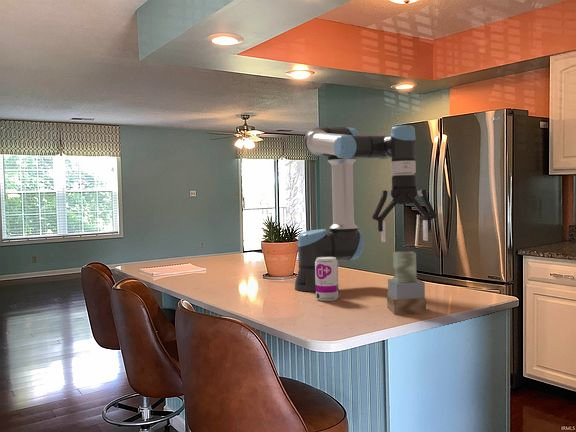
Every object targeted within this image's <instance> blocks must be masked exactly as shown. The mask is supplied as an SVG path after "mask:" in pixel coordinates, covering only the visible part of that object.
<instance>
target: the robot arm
mask: <svg viewBox="0 0 576 432" xmlns="http://www.w3.org/2000/svg"><path fill="white" fill-rule="evenodd" d="M416 138H417V137H416V129H415V127H414V126H413V125H406V124H405V125H395V126H392V127H391V130H390V134H389V135H361V134H360V133H359V132H358V130H357V129H356V128H354V127H347V126H344V127H343V126H340V127H339V126H319V127H313V128H312V129H310V130H308V131H307V132H306V133H305V135H304V138H303V146H304V148H305V150H306V152H307V153H309V154H311V155H313V156H316V157H327V162H328V163H329V164H330V165H331V187H332V188H331V195H332V224H331V225H330V227H329V232H328V230H327V229H324V228H320V229H311V230H307V231H303V232H301V233H299V234H298V237H297V250H298V251H297V256H298V257H297V258H298V259H297V260H298V270H297V273H296V274H297V275H296V278H295V281H294V289H295V290H297V291H301V292H316V282H315V261H316V259H317V258H318V257H336V260H337V261H339V262H340V261H350V260H357V259H358V258H359V257H361V255H362V253H363V250H364V245H365V241H364V235H363V233H362V232H361V231H360V230H359V227H358V226H357V225H356V223H355V210H354V209H355V206H354V204H355V203H354V167H353V166H354V163H355V162H356V161H357V159H381V160H388V159H391V174H392V176H391V190H386V189H384V190H382V191H381V197H380V200H379V202H378V204H377V205H376V208H375V210H374V212H373V214H372V215H371V219H373V220H375V221H377V230H378V232H380V235H381V236H380V238H381V239H380V240H381V241H380V242H381V243H386V221H385V219H386V217H387V216H388V215H389V214H390V213H391V211H392V210H393V208H395V206H396V205H404V204H405V205H410V204H411V205H413V206H414V207H415V209H416V211H418V212H419V214H420V215H422V217H423V219H424V220H422V240H423V241H424V242H428V241H429V231H431V227H432V225H431V222H432V220H433V219H436V218H437V214H436V211H435V210H434V208H433V206H432V204H431V201H430V200H429V198H428V196H427V190H426V189H419V190H418V189H417V182H416V181H417V176H416V175H415V174H416V171H417V170H416V169H417V168H416V167H417V166H416V163H417V162H416V157H417V154H416V153H417V152H416V148H417V147H416V145H417V143H416V140H417V139H416ZM390 196H391V197H392V200H391V201H390V202H389V203H388V205H387V206H386V207H385V208H384V210H383V207H384V205H385V203H386V201H387V198H390ZM417 196H418V197H420V198H421V200H422V202H423V204H424V207H425V208H426V210H427V211H426V210H425V209H424V207H422V205H421V204H420V203H419V201H418V200H417V199H416V197H417ZM382 210H383V211H382ZM380 213H381V214H380Z"/></svg>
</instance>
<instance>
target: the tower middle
mask: <svg viewBox="0 0 576 432" xmlns="http://www.w3.org/2000/svg"><path fill="white" fill-rule="evenodd" d="M425 287H426V285H425V281H422V280H420V279H418V278H417V282H396V281H395V280H394V278H388V279H387V294H389V295H390V296H392V297H394V298H395V299H397V300H400V299H420V298H425V299H426V297H425V296H426V288H425Z"/></svg>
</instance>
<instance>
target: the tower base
mask: <svg viewBox="0 0 576 432" xmlns="http://www.w3.org/2000/svg"><path fill="white" fill-rule="evenodd" d="M386 300H387V301H386V303H387V304H386V306H387V309H388V310H389V311H390V312H391V313H392V314H393V315H394V316H395V315H396V316H397V315H426V314H427V299H426V297H425V298H420V299H400V300H397V299H395V298H394V297H392V296H390V295H389V294H388V293H386Z"/></svg>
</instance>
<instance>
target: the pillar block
mask: <svg viewBox="0 0 576 432" xmlns="http://www.w3.org/2000/svg"><path fill="white" fill-rule="evenodd" d="M392 256H393V257H392V259H393V260H392V261H393V262H392V263H393V268H392V269H393V279H394V280H395V281H396V282H417V279H418V278H417V252H414V251H413V250H412V251H411V250H410V251H407V250H406V251H393V252H392Z"/></svg>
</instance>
